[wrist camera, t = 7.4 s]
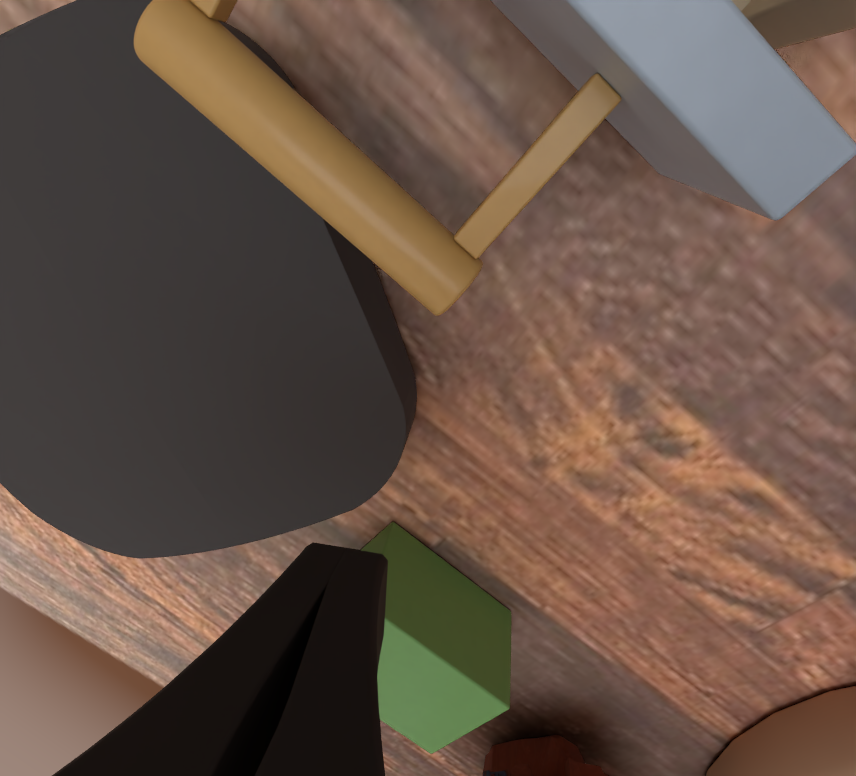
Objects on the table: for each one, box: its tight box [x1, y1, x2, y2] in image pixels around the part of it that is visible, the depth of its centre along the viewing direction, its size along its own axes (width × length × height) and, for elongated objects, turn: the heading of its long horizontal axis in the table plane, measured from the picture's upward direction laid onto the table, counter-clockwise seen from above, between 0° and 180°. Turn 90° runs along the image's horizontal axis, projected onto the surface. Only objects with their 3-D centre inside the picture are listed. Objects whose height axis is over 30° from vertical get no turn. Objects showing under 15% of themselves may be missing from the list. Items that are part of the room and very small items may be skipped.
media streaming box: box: [0, 0, 417, 558], centre depth 17 cm, size 15×15×3 cm
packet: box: [361, 522, 511, 754], centre depth 20 cm, size 6×4×4 cm, turn 50°
